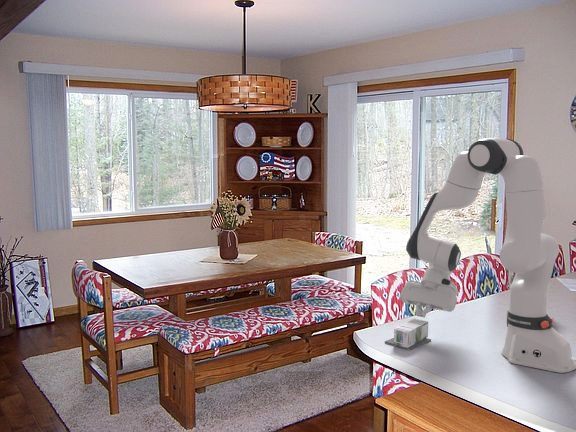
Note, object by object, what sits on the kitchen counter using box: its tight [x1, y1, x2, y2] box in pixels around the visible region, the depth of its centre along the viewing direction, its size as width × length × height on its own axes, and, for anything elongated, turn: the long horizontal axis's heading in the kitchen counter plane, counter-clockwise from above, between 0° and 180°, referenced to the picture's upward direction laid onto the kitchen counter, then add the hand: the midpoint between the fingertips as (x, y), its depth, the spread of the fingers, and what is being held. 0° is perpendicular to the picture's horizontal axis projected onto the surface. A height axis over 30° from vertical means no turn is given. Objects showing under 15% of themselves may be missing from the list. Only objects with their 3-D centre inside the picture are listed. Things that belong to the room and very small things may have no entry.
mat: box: [384, 337, 432, 351], centre depth 198 cm, size 10×13×1 cm
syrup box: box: [393, 318, 429, 348], centre depth 197 cm, size 6×6×14 cm
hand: (419, 316), depth 201 cm, fingers closed
